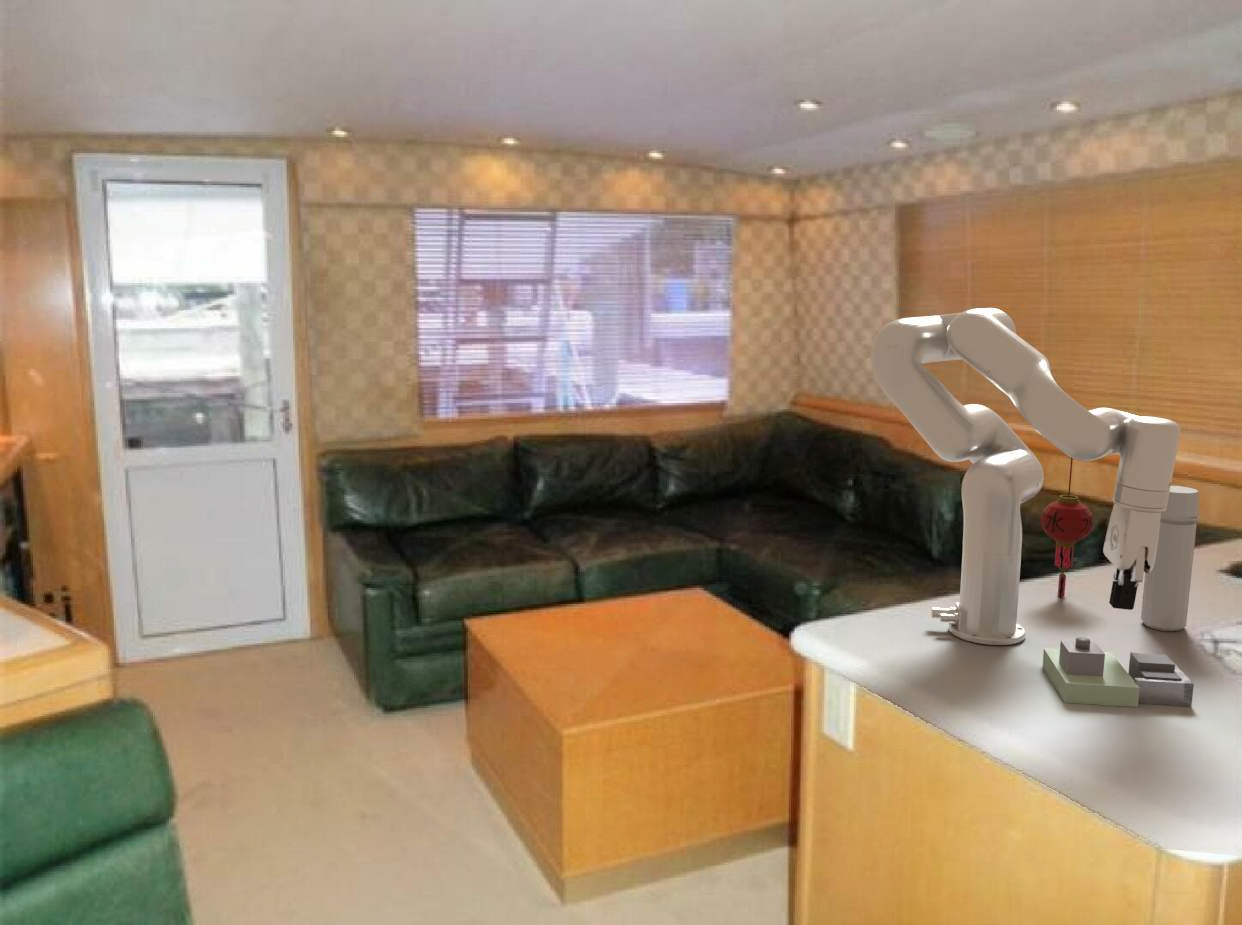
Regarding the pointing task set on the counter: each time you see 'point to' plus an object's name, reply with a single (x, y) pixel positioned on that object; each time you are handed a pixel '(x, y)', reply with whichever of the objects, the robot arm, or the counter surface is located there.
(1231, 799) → the counter surface
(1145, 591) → the water bottle
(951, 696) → the counter surface
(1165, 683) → the side bracket
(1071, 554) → the lantern
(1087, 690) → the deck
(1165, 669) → the gray stepped block
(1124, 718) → the counter surface
